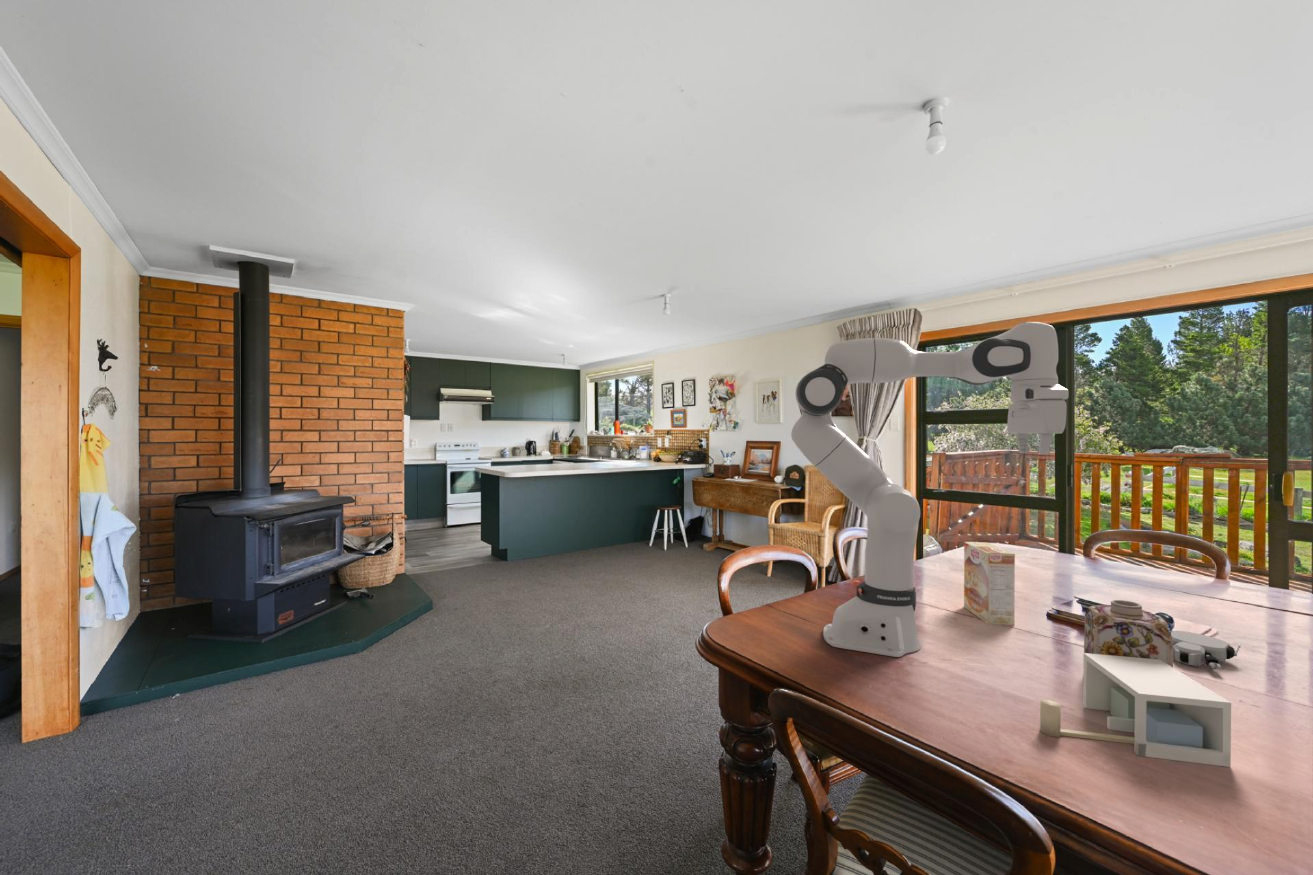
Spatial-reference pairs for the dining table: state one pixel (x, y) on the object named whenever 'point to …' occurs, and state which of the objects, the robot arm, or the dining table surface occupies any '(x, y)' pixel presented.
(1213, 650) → the robot toy
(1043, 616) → the dining table surface
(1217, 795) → the dining table surface
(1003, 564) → the coffeecake box
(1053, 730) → the corded block
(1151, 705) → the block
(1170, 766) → the dining table surface
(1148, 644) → the decorative jar
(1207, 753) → the shelf
